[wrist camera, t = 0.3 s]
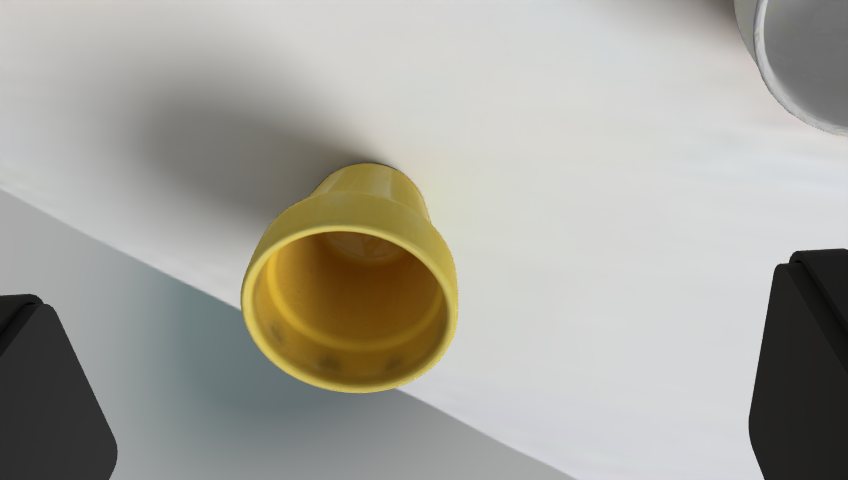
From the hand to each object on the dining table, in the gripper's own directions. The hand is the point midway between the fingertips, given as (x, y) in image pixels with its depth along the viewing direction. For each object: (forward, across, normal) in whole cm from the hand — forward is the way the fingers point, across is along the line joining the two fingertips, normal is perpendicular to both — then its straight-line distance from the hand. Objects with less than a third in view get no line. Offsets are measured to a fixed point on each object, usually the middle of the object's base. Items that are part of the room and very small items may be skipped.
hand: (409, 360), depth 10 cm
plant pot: (+31, +6, +16) cm, 35 cm away
